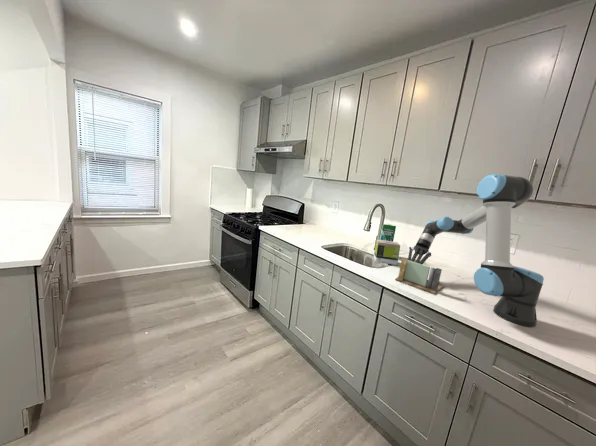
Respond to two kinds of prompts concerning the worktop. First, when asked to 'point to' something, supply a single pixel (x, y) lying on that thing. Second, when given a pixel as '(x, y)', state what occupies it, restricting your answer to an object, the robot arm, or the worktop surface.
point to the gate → (419, 273)
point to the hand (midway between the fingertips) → (409, 272)
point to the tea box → (386, 252)
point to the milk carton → (387, 232)
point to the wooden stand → (432, 290)
